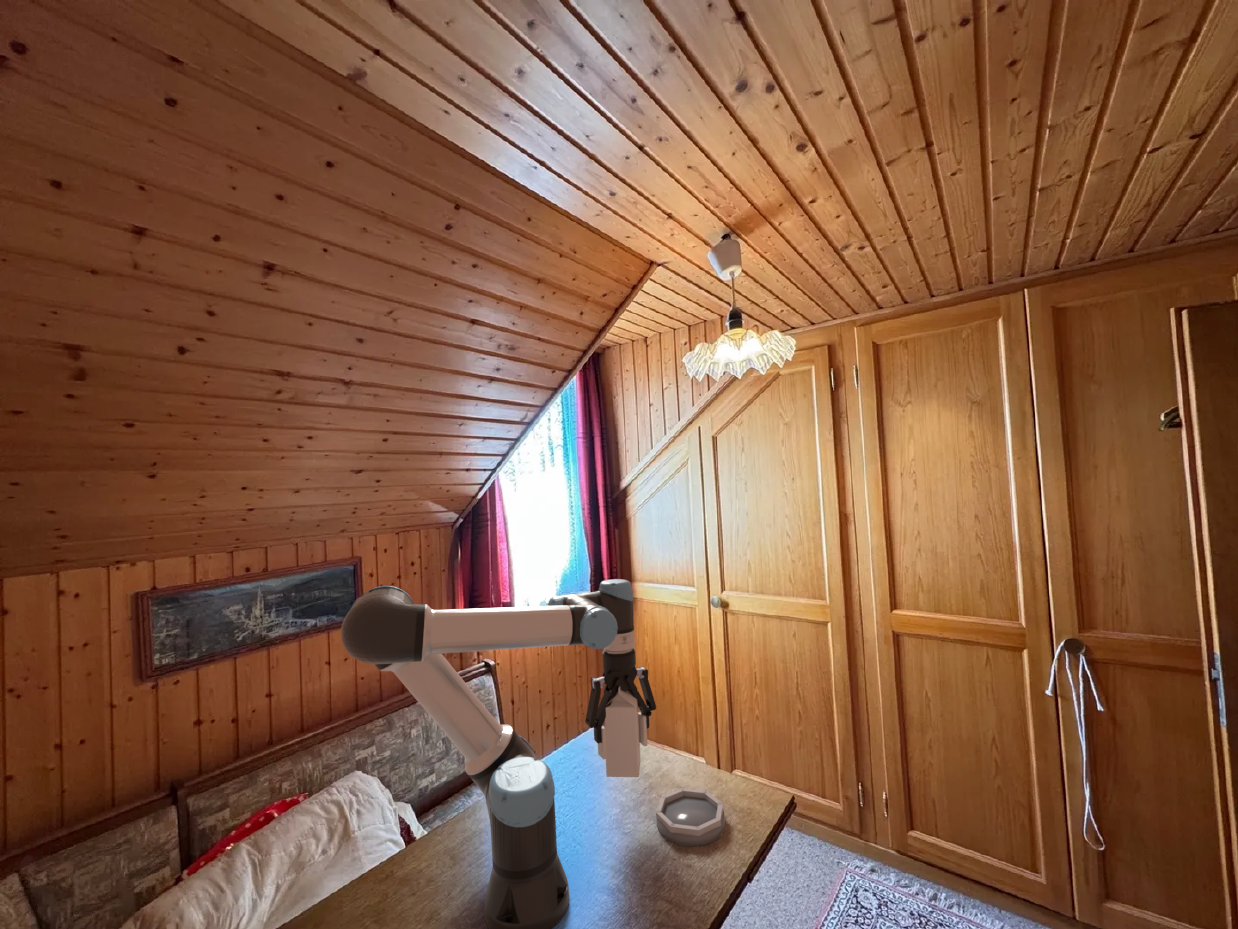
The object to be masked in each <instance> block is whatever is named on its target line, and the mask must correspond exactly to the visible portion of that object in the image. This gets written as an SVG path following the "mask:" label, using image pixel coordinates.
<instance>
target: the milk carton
mask: <svg viewBox="0 0 1238 929" xmlns="http://www.w3.org/2000/svg"><path fill="white" fill-rule="evenodd" d="M609 692H611V690H610V691H609ZM611 701H612V703H611V705H610V706H608V707H606V718H605V721H604V723H603V726H604V727H605V728H606V751H607V759H605V768H606V771H605V772H606V778H639V777H640V771H641V770H640V768H641V761H642V760H641V743H640V738H639V716H638V713H639V707H638V702H637V699H636V698H635V697H634V695H633V694H632V693H631V692H630V691H621V690H620V687H619V688H618V692H617V693H616V695H615V697H614V698H612V699H611V700H610V701H609V702H611Z"/></svg>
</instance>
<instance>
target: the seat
mask: <svg viewBox="0 0 1238 929" xmlns="http://www.w3.org/2000/svg"><path fill="white" fill-rule="evenodd" d="M725 815H726V814H725V811H724V803H723V802H722V801H721V800H719V799H718V798H717V797H715V796H714V795H713V794H712V793H710V792H709V791H708V790H703V789H694V788H693V789H692V788H686V787H685V788H682V787H681V788H678V789H676V790H674V791H672V792H670V793H669V792H668V793H667V794H666V793H665V794H664V795H662V796H660V800H659V802H658V805H657V807H656V810H655V821H656V827H657V828H656V829H657V831H658V833H659V834H660V835H661V836H662V837H663V838H665V839H666V840H667V841H669V842H670V843H673V844H675V845H679V846H683V847H700V846H706V845H708V844H712V843H713V842H715V841H717V840H718V839H719V838H720V837H721V836H722V835H723V834H724V832H725V828H726V819H725V818H726V817H725ZM723 831H724V832H723ZM722 833H723V834H722ZM721 834H722V835H721Z"/></svg>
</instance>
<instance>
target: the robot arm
mask: <svg viewBox="0 0 1238 929" xmlns="http://www.w3.org/2000/svg"><path fill="white" fill-rule="evenodd" d="M634 620H635V618H634V594H633V587H632V583H631V581H629V580H627V579H622V578H621V579H620V578H614V579H607V580H602V581H601V582H600V584H599V588H598V590H596V591H592V592H582V593H573V594H562V595H558V596H553V597H551V598H549V600H548V603H547V605H544V606H543V605H538V606H535V605H534V606H510V607H507V606H506V607H482V608H479V607H475V608H453V609H449V608H448V609H432V608H431V607H430V606H429V605H428V604H425V603H423V604H421V603H419V604H414V601H413V599H412V597H411V596H410V595H409V594H408V593H407V591H404V590H403V589H401V588H399V587H397V586H391V585H381V586H376V587H374V588H373V587H372V588H371V589H369V590H367V591H366V592H365V593H362V594H361V595H360V596H359V597H358V598H357V599H355V601H353V603H352V605H351V607H350V609H349V611H348V612H347V613H346V614H345V617H344V619H343V622H342V625H341V627H340V628H341V629H340V637H341V643H342V645H343V648H344V649H345V651H346V652H347V654H349V656H350V657H352V658H354V660H357V661H359V662H361V663H365V664H369V665H374V666H375V667H376V668H377V669H378V670H379V671H380V672H392V673H394V675H395V676H396V678H397V679H398V680H399V681H400V682H401V683H402V684H403V685H404V687H405V689H407V690H408V691H409V693H410V694H411V695H412V696H413V698H414V699H415V700H416V701H417V702H418V703H419V705H420V706H421V707H422V709H424V711H426V714H428V715H429V717H430V718H431V719H432V720H433V721H434V722H435V723H436V725H437V726H438V727H439V728H440V730H441V731H442V732H443V733H444V734H445V736H446V737H447V738H448V740H450V741H451V742H452V744H453V745H454V746H455V747H456V749H458V751H459V752H460V753H461V754H462V756H463V757H464V758H465V765H464V771H465V773H466V774H467V775H468V776H469V777H470V779H471V781H473V783H474V784H475V785H476V786H477V787H478V788H479V789H480V791H481V792H482V794H483V795H484V799H485V804H486V808H487V813H488V817H489V824H490V838H491V839H490V840H491V841H490V842H491V859H492V860H491V861H492V868H491V873H490V875H489V880H488V884H487V888H486V892H485V895H484V903H483V904H484V905H483V908H484V909H483V910H484V920H485V921H484V922H485V924H486V926H487V928H488V929H552V928H554V927H555V926H556V925H557V924H558V923H559V922H560V921H561V920H562V918H564V916H565V914H566V912H567V909H568V907H569V902H570V886H569V879H568V877H567V874H566V872H565V869H564V867H563V865H562V862H561V859H560V857H559V855H558V848H557V843H558V842H557V824H556V806H555V805H556V804H555V795H556V786H555V782H554V776H553V773H552V770H551V768H550V767H549V765H548V764H547V763H546V762H545V761H543V760H541V759H537V756H536V754H535V749H533V747H532V745H531V744H530V743H529V742H528V740H526V739H525V738H524V737H523V736H521V735H520V734H518V732H517V731H516V730H515V729H514V728H513V727H512V726H511V725H510V724H507V723H505V724H503V723H502V724H500V723H499V722H498V721H497V720H496V719H495V717H494V716H493V715H492V713H491V712H490V711H489V710H488V709H487V707H486V706H485V704H483V703H482V701H481V700H480V698H478V696H477V695H476V694H475V693H474V691H473V690H472V689H471V688H470V687H469V686H468V684H467V683H466V682H465V680H464V679H463V678H462V677H461V676H460V674H459V673H458V672H457V671H456V670H455V668H454V667H453V666H452V664H451V663H450V662H449V660H447V659H446V657H445V655H444V654H455V653H456V654H458V653H472V652H474V653H475V652H487V651H502V650H517V649H532V648H535V649H536V648H546V647H550V648H551V647H560V646H561V647H562V646H565V647H566V646H582V645H585V646H586V647H588V648H591V649H595V650H601V649H602V650H603V651H602V652H601V653H602V667H603V672H602V676H600V677H597V678H595V677H591V679H590V686H591V687H590V688H591V689H590V693H589V700H588V705H587V710H586V716H585V721H584V723H585V724H586V725H587V726H588V727H589V728H591V729H593V739H594V742H596V743H597V752H598V753H597V754H598V756H599V757H601V758H602V760H606V759H607V751H606V728H605V727H604V721H605V718H606V707H608V706H610V705H611V703H612V701H611V702H609V701H610V700H611V699H612V698H614V697H615V695H616V693H617V692H618V688H619V687H620V690H621V691H630V692H631V693H632V694H633V695H634V697H635V698H636V699H637V702H638V710H639V711H638V716H639V738H640V745H642V746H643V747H647V746H648V731H647V730H648V729H649V728H650V716H652V713H653V711H655V710H657V705H656V701H655V697H654V695H653V692H652V688H651V684H650V681H649V670H648V669H647V668H645V667H643V666H639V667H638V668H637V667H636V664H637V657H636V650H635V647H636V644H635V643H636V642H635V641H636V639H635V622H634ZM636 678H638V682H639V684H640V685H639V686H640V687H641V691H642V695H643V697H642V695H641V694H640V691H639V690H638V687H637V686H636V684H635V680H636ZM604 684H605V687H604V689H603V686H604ZM602 689H603V695H602V698H601V693H602ZM610 690H611V692H609V691H610ZM600 699H601V700H600Z"/></svg>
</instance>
